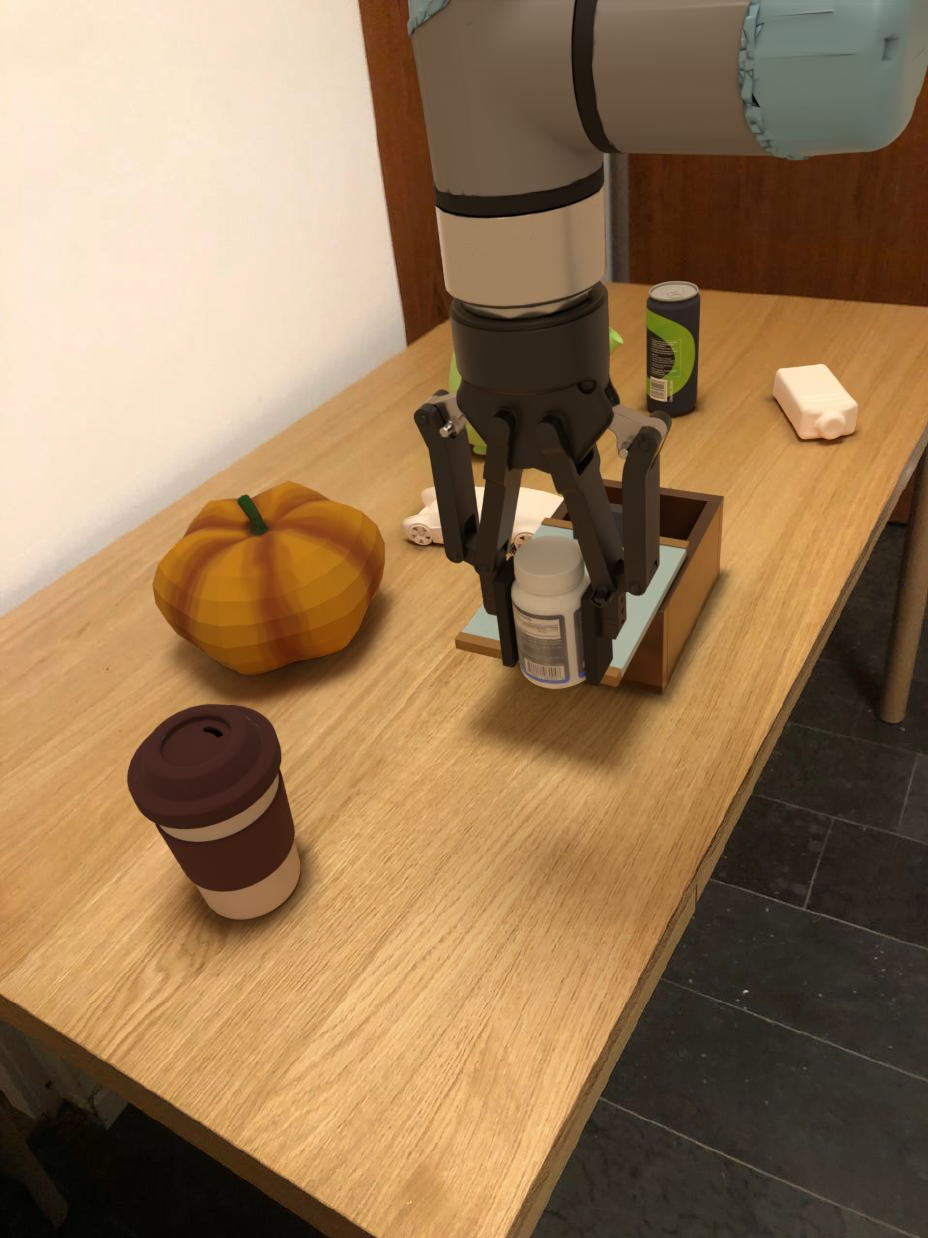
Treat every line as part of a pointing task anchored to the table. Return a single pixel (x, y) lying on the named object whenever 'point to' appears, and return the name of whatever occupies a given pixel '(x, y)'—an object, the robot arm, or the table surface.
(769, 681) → the table surface
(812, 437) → the white bottle
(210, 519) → the decorative pumpkin
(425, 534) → the toy car
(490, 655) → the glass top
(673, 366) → the beverage can
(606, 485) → the case
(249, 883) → the coffee cup
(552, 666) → the pill bottle
